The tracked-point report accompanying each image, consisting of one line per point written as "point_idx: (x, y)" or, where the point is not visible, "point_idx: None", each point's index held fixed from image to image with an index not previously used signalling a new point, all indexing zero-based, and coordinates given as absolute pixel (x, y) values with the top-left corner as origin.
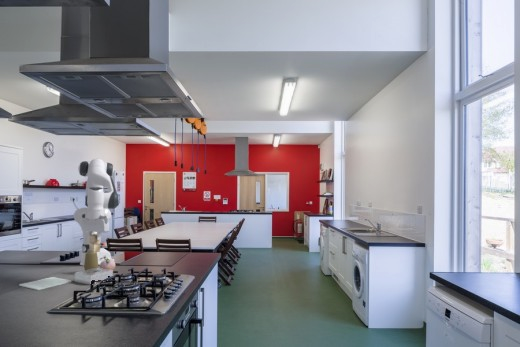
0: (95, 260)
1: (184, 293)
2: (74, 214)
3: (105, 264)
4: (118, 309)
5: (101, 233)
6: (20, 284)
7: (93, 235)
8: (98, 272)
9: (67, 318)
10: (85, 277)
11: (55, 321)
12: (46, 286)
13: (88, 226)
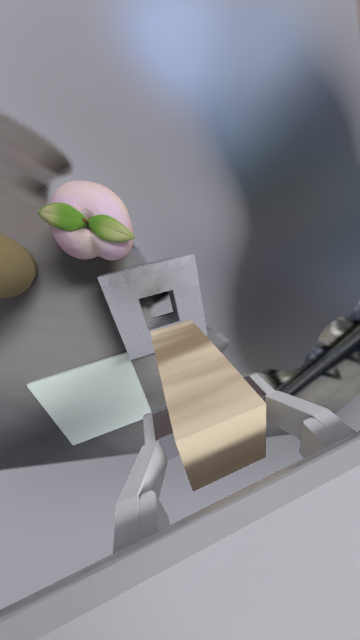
0: (1, 256)
1: None
2: None
3: (123, 251)
4: (349, 336)
5: (329, 415)
6: (76, 443)
7: (252, 455)
8: (188, 306)
9: (316, 389)
10: None
11: (311, 399)
12: (142, 402)
13: None
